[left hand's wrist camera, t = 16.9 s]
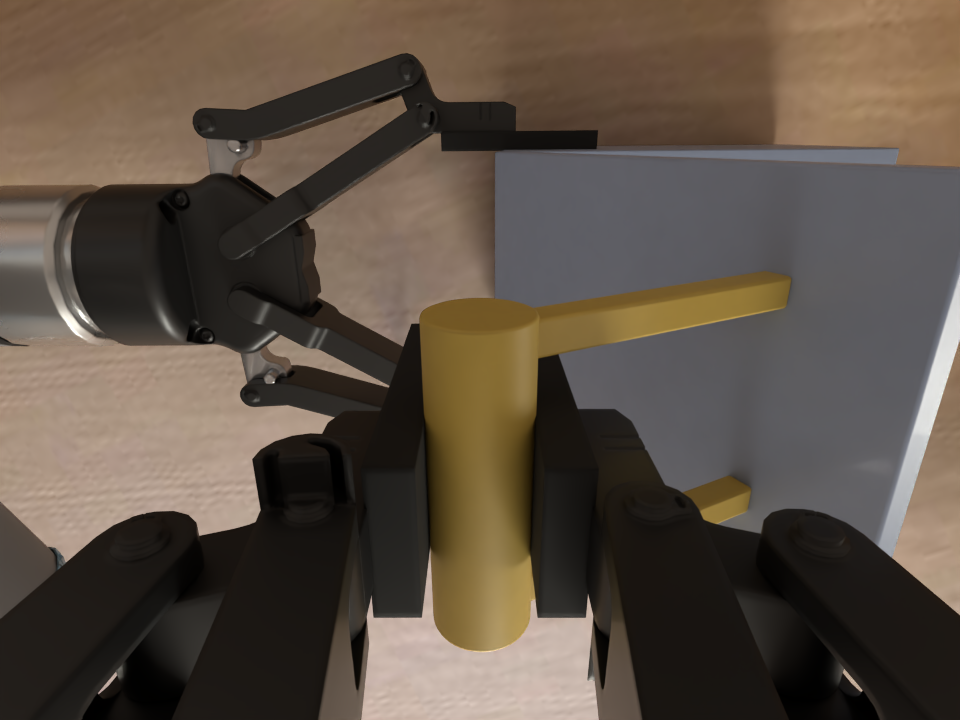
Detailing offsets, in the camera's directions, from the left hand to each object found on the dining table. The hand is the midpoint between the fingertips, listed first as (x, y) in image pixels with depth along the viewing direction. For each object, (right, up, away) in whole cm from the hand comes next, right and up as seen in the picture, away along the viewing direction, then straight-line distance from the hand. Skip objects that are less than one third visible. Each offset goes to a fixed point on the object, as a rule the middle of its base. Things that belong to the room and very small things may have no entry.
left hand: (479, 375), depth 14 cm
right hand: (+5, +5, +13) cm, 15 cm away
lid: (+5, +1, +3) cm, 6 cm away
